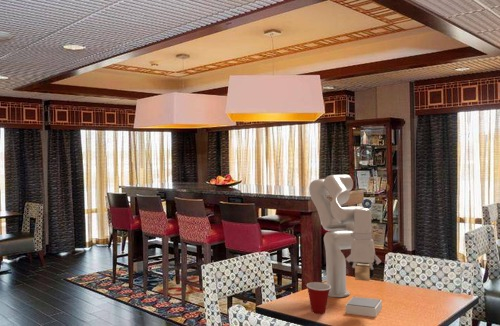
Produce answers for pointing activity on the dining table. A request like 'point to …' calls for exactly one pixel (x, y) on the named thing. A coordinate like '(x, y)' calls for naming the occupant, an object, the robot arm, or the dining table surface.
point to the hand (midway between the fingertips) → (363, 276)
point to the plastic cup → (318, 296)
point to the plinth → (364, 306)
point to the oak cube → (362, 272)
